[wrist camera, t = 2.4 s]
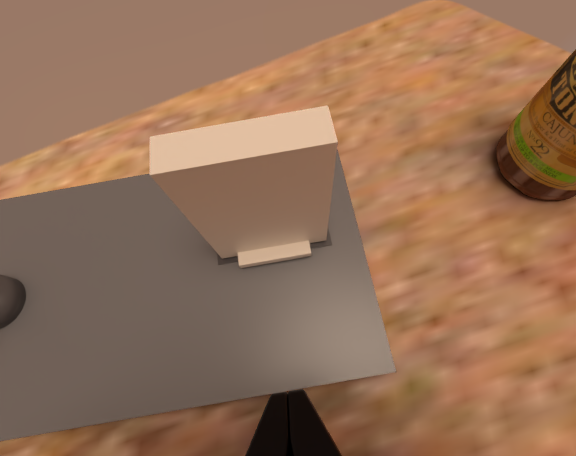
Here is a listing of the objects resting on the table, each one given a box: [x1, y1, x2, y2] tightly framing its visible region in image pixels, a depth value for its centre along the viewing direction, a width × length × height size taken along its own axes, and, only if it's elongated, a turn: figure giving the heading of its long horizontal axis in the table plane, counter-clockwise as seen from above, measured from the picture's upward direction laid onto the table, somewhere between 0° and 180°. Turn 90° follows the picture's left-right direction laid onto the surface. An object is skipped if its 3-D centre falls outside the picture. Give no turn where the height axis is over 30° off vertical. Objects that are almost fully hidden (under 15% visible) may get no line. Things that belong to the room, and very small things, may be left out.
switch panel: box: [0, 150, 396, 441], centre depth 19 cm, size 14×26×4 cm, turn 99°
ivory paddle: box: [150, 106, 338, 268], centre depth 15 cm, size 3×6×9 cm, turn 99°
